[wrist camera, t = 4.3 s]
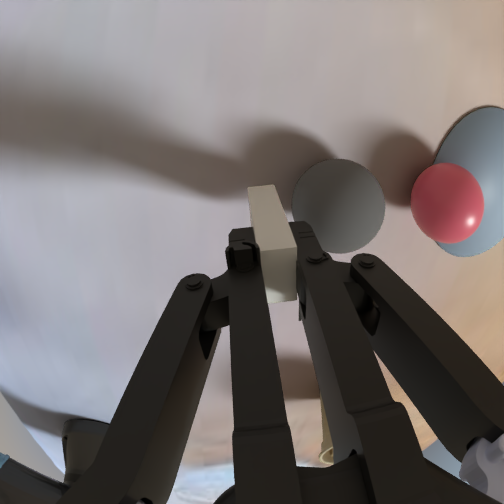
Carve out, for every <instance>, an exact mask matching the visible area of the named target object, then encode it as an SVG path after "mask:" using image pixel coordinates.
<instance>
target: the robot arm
mask: <svg viewBox="0 0 504 504" xmlns="http://www.w3.org/2000/svg"><path fill="white" fill-rule="evenodd" d="M247 188H248V198H249V208H250V219H251V227H247V228H238V229H232V231H231V232H230V234H229V246H228V247H227V248H226V250H225V254H226V260H227V266H228V270H227V271H226V272H225V273H224V274H222V275H221V276H219V277H216V278H213V279H210V278H209V277H208V276H207V275H205V274H200V273H197V274H191V275H188V276H186V277H184V278H183V279H181V280H180V282H179V283H178V285H177V287H176V289H175V290H174V292H173V294H172V296H171V298H170V300H169V302H168V304H167V306H166V308H165V310H164V312H163V314H162V316H161V318H160V320H159V322H158V324H157V326H156V328H155V330H154V332H153V334H152V336H151V338H150V340H149V342H148V344H147V346H146V348H145V350H144V352H143V354H142V356H141V358H140V360H139V362H138V364H137V366H136V368H135V371H134V373H133V375H132V377H131V379H130V381H129V383H128V385H127V388H126V390H125V392H124V394H123V396H122V398H121V401H120V403H119V405H118V407H117V409H116V412H115V414H114V416H113V418H112V420H111V423H110V425H108V424H105V423H100V422H96V421H90V420H80V419H77V420H69V421H67V422H66V423H65V424H64V428H63V432H62V445H63V453H64V461H65V468H66V471H65V478H64V482H63V483H62V482H59V481H57V480H55V479H52V478H50V477H48V476H45V475H43V474H41V473H39V472H37V471H35V470H33V469H31V468H29V467H27V466H25V465H23V464H21V463H19V462H17V461H15V460H13V459H12V458H10V456H9V455H4V454H2V453H0V504H166V503H167V501H168V499H169V496H170V494H171V491H172V488H173V486H174V482H175V479H176V476H177V472H178V469H179V466H180V463H181V459H182V456H183V453H184V450H185V446H186V443H187V440H188V437H189V433H190V430H191V427H192V424H193V420H194V417H195V414H196V411H197V407H198V404H199V401H200V398H201V395H202V391H203V388H204V385H205V382H206V378H207V375H208V372H209V369H210V366H211V362H212V359H213V356H214V353H215V350H216V346H217V343H218V340H219V337H220V334H221V328H222V327H225V326H228V325H230V350H231V374H232V395H233V415H234V431H233V434H232V445H233V463H234V479H235V485H233V486H231V487H230V488H229V489H227V490H226V491H225V492H224V493H223V494H221V495H220V496H219V498H218V499H217V500H216V501H215V502H214V503H213V504H504V386H503V385H502V383H501V382H500V381H499V380H498V379H497V377H496V376H495V375H494V374H493V373H492V372H491V371H490V369H489V368H488V367H487V366H486V365H485V364H484V363H483V362H482V360H481V359H480V358H479V357H478V356H477V355H476V354H475V353H474V352H473V351H472V349H471V348H470V347H469V346H468V345H467V344H466V343H465V342H464V341H463V340H462V339H461V338H460V337H459V336H458V334H457V333H456V332H455V331H454V330H453V329H452V328H451V327H450V326H449V325H448V324H447V323H446V322H445V321H444V320H443V319H442V318H441V317H440V316H439V315H438V314H437V313H436V312H435V311H434V310H433V309H432V308H431V307H430V306H429V305H428V304H427V303H426V302H425V301H424V300H423V299H422V298H421V297H420V296H419V295H418V294H417V293H416V292H415V291H414V290H413V289H412V288H411V287H410V286H409V285H408V284H406V283H405V282H404V281H403V280H402V279H401V278H400V277H399V276H398V275H397V274H396V273H395V272H394V271H393V270H392V269H391V268H389V267H388V266H387V265H386V264H385V263H384V262H383V261H382V260H381V259H380V258H378V257H377V256H375V255H372V254H366V253H362V254H357V255H355V256H354V257H353V258H352V259H351V263H346V262H338V261H334V260H333V259H332V257H331V256H330V255H329V254H328V253H327V252H325V251H323V250H322V248H321V246H320V244H319V242H318V239H317V237H316V235H315V233H314V232H313V229H312V227H311V225H310V224H308V223H307V222H305V221H296V222H288V221H287V218H286V215H285V212H284V210H283V207H282V204H281V202H280V199H279V196H278V194H277V191H276V188H275V186H274V185H264V186H254V187H247ZM297 293H298V297H299V321H301V318H302V321H303V325H304V329H305V333H306V337H307V341H308V345H309V349H310V353H311V356H312V360H313V364H314V368H315V372H316V376H317V381H318V385H319V389H320V393H321V397H322V401H323V405H324V409H325V414H326V418H327V422H328V426H329V431H330V435H331V439H332V444H333V461H334V465H332V466H329V467H326V468H317V467H299V466H296V460H295V454H294V448H293V442H292V436H291V431H290V427H289V425H288V422H287V416H286V410H285V404H284V398H283V391H282V385H281V379H280V373H279V367H278V361H277V355H276V349H275V343H274V337H273V332H272V326H271V320H270V314H269V308H268V304H269V303H278V302H286V301H294V300H297ZM373 350H374V351H375V353H376V354H377V355H378V357H379V358H380V359H381V361H382V362H383V363H384V365H385V366H386V367H387V369H388V370H389V371H390V373H391V374H392V375H393V377H394V378H395V379H396V381H397V382H398V383H399V385H400V386H401V387H402V389H403V390H404V392H405V393H406V394H407V396H408V397H409V398H410V400H411V401H412V402H413V404H414V405H415V407H416V408H417V409H418V411H419V412H420V413H421V415H422V416H423V418H424V419H425V420H426V422H427V423H428V425H429V426H430V427H431V429H432V430H433V432H434V433H435V435H436V436H437V437H438V439H439V440H440V441H441V443H442V444H443V445H444V446H445V448H446V449H447V450H448V451H449V452H450V453H451V454H452V455H453V456H454V457H455V458H456V459H457V460H458V461H460V462H461V463H462V465H461V469H460V472H459V476H460V478H461V480H460V479H458V478H457V477H455V476H453V475H452V474H450V473H448V472H447V471H445V470H443V469H442V468H440V467H439V466H437V465H435V464H434V463H432V462H430V461H429V460H427V459H426V458H424V457H423V454H422V451H421V448H420V445H419V442H418V439H417V437H416V434H415V431H414V428H413V426H412V423H411V420H410V418H409V415H408V412H407V410H406V408H405V407H404V405H403V404H402V403H401V402H395V401H394V400H393V398H392V396H391V394H390V391H389V389H388V386H387V383H386V381H385V378H384V376H383V373H382V371H381V368H380V366H379V363H378V361H377V358H376V356H375V354H374V351H373ZM462 480H463V481H467V482H468V483H469V484H470V485H468V484H467V483H465V482H463V481H462Z"/></svg>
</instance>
